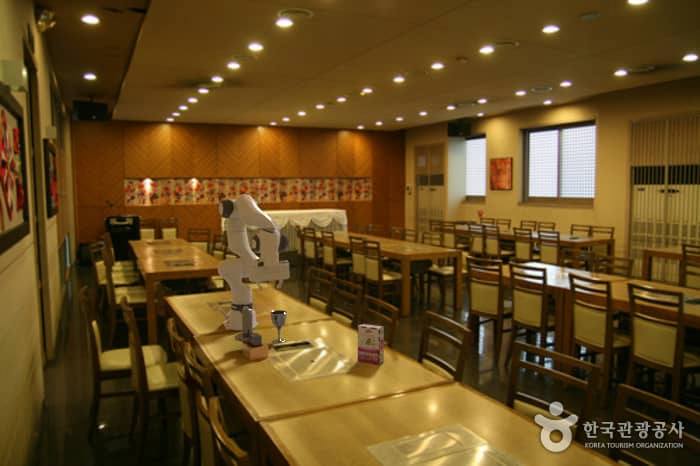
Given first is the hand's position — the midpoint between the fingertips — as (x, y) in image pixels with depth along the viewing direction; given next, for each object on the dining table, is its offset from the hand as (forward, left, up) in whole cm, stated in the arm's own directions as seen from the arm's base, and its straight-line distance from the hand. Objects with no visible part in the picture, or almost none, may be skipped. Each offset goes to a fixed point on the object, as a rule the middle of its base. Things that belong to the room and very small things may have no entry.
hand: (269, 289), depth 261 cm
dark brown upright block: (+10, -12, -29) cm, 32 cm away
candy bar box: (+44, +30, -29) cm, 61 cm away
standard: (+5, -12, -28) cm, 31 cm away
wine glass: (-6, +7, -29) cm, 30 cm away
